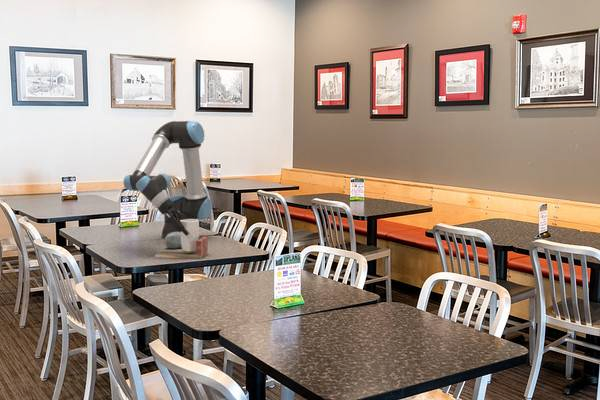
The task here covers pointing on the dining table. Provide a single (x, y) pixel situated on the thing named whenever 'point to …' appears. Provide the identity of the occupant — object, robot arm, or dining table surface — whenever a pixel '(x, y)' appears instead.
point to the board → (198, 254)
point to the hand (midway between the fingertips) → (196, 237)
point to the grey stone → (173, 240)
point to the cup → (194, 229)
